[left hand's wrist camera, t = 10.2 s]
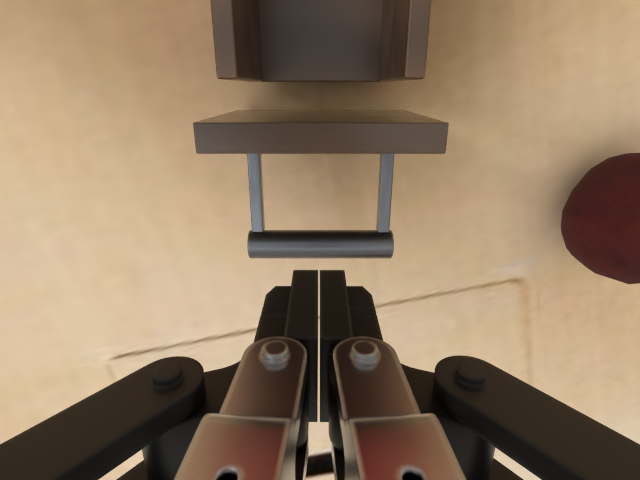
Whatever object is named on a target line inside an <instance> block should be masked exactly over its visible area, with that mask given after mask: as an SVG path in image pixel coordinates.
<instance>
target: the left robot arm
mask: <svg viewBox="0 0 640 480" xmlns="http://www.w3.org/2000/svg"><path fill="white" fill-rule="evenodd" d="M317 391H318V270H294V271H293V278H292V285H291V286H275V287H274V288H273V289H272V290H271V291H270V292H269V293H268V294H267V295H266V298H265V301H264V307H263V309H262V314H261V317H260V321H259V324H258V328H257V332H256V336H255V340H254V343H253V344H251V345H250V346H249V347H248V348H247V349H246V350H245V352H244V354H243V356H242V359H241V361H239V362H238V363H236V364H234V365H231V366H228V367H225V368H222V369H217V370H213V371H208V372H204V371H203V367H202V365H201V364H200V363H199V362H198V361H196V360H194V359H192V358H189V357H179V356H177V357H168V358H164V359H160V360H157V361H155V362H153V363H150V364H148V365H147V366H145V367H143V368H141V369H139V370H137V371H135V372H134V373H132V374H130V375H128V376H126V377H124V378H122V379H121V380H119V381H117V382H115V383H113V384H111V385H110V386H108V387H106V388H104V389H102V390H100V391H98V392H97V393H95V394H93V395H91V396H89V397H87V398H85V399H84V400H82V401H80V402H78V403H76V404H74V405H73V406H71V407H69V408H67V409H65V410H63V411H61V412H60V413H58V414H56V415H54V416H52V417H50V418H48V419H47V420H45V421H43V422H41V423H39V424H37V425H36V426H34V427H32V428H30V429H28V430H26V431H24V432H23V433H21V434H19V435H17V436H15V437H13V438H11V439H10V440H8V441H6V442H4V443H2V444H0V480H98V479H100V478H101V477H103V476H104V475H105V474H107V473H108V472H110V471H111V470H113V469H114V468H116V467H117V466H118V465H120V464H121V463H123V462H124V461H126V460H127V459H128V458H130V457H131V456H133V455H134V454H136V453H137V452H138V451H140V450H141V449H142V452H143V457H144V460H143V461H142V462H140V463H139V464H138V465H136V466H135V467H133V468H132V469H131V470H129V471H128V472H127V473H125V474H124V475H122V476H121V477H120V478H118V479H117V480H305V476H306V468H307V459H308V423H309V422H317ZM320 422H329V437H330V440H331V442H332V459H333V468H334V476H335V480H523V479H522V478H520V477H519V476H518V475H516V474H515V473H513V472H512V471H511V470H509V469H508V468H507V467H505V466H504V465H502V464H501V463H500V462H498V461H497V460H495V459H494V458H493V456H494V451H495V447H496V448H497V449H499V450H500V451H501V452H503V453H504V454H506V455H507V456H509V457H510V458H512V459H513V460H514V461H516V462H517V463H519V464H520V465H522V466H523V467H524V468H526V469H527V470H529V471H530V472H532V473H533V474H534V475H536V476H537V477H539V478H540V479H542V480H640V444H638V443H636V442H634V441H632V440H630V439H629V438H627V437H625V436H623V435H621V434H619V433H617V432H616V431H614V430H612V429H610V428H608V427H606V426H604V425H603V424H601V423H599V422H597V421H595V420H593V419H592V418H590V417H588V416H586V415H584V414H582V413H580V412H579V411H577V410H575V409H573V408H571V407H569V406H567V405H566V404H564V403H562V402H560V401H558V400H556V399H555V398H553V397H551V396H549V395H547V394H545V393H543V392H542V391H540V390H538V389H536V388H534V387H532V386H530V385H529V384H527V383H525V382H523V381H521V380H519V379H518V378H516V377H514V376H512V375H510V374H508V373H506V372H505V371H503V370H501V369H499V368H497V367H495V366H493V365H492V364H490V363H488V362H486V361H483V360H481V359H478V358H474V357H469V356H451V357H447V358H444V359H442V360H441V361H440V362H438V364H437V365H436V368H435V373H433V372H428V371H423V370H419V369H415V368H411V367H408V366H405V365H403V364H401V363H400V361H399V359H398V356H397V354H396V352H395V350H394V349H393V348H392V347H391V346H390V345H389V344H387V343H386V342H384V341H383V339H382V335H381V331H380V327H379V323H378V319H377V315H376V311H375V307H374V303H373V299H372V295H371V294H370V293H369V292H368V291H367V290H366V289H365V288H364V287H362V286H346V279H345V272H344V270H320Z"/></svg>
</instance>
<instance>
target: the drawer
mask: <svg viewBox="0 0 640 480" xmlns="http://www.w3.org/2000/svg"><path fill="white" fill-rule="evenodd" d="M430 9H431V0H211V11H212V23H213V35H214V47H215V59H216V71H217V78H218V79H227V80H239V81H250V82H392V81H403V80H416V79H423V78H424V77H425V68H426V56H427V44H428V33H429V21H430ZM193 127H194V136H195V146H196V153H198V154H247V158H248V174H249V190H250V206H251V222H252V230H250V231H249V234H248V255H249V257H250V258H392V255H393V248H394V240H393V233H392V231H391V230H389V227H390V211H391V195H392V180H393V164H394V154H444V153H445V152H446V142H447V133H448V123H447V122H443V121H440V120H436V119H433V118H429V117H425V116H422V115H418V114H414V113H411V112H407V111H247V110H237V111H234V112H230V113H227V114H223V115H219V116H216V117H212V118H209V119H205V120H202V121H198V122H194V123H193ZM261 154H380V169H379V188H378V207H377V227H376V229H377V230H264V229H265V223H264V204H263V184H262V164H261Z"/></svg>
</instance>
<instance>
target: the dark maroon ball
mask: <svg viewBox="0 0 640 480" xmlns="http://www.w3.org/2000/svg"><path fill="white" fill-rule="evenodd" d="M561 232H562V235H563V239H564V242H565V245H566V248H567V249H568V250H569V252H570V253H571V254H572V255H573V256H574V257H575V258H576V259H577V260H578V261H580V262H581V263H582V264H583V265H584V266H586V267H587V268H588V269H590V270H591V271H593V272H594V273H596V274H599V275H602V276H605V277H609V278H612V279H615V280H618V281H621V282H624V283H627V284H636V283H640V153H628V154H623V155H619V156H615V157H611V158H608V159H606V160H605V161H603V162H601V163H600V164H598V165H596V166H595V167H593V168H592V169H591V170H590V171H589V172H588V173H587V174H586V175H585V176H584V177H583V178H582V180H581V181H580V182H579V183H578V184H577V186H576V187H575V188H574V189H573V190H572V192H571V194H570V197H569V199H568V201H567V203H566V205H565V207H564V209H563V211H562V221H561Z"/></svg>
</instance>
